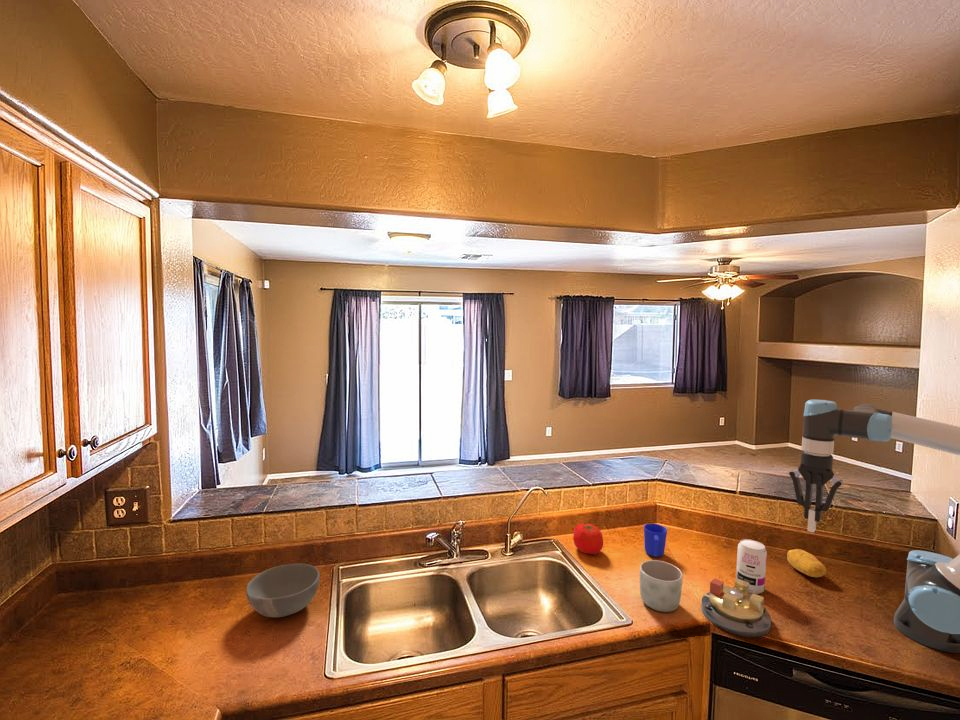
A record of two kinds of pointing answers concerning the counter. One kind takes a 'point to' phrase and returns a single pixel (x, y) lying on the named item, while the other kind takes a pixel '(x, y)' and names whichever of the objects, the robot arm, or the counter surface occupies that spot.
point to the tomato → (588, 538)
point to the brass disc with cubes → (736, 602)
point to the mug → (654, 539)
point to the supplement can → (752, 564)
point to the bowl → (283, 589)
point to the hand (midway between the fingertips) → (811, 530)
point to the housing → (734, 626)
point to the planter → (660, 585)
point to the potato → (806, 563)
